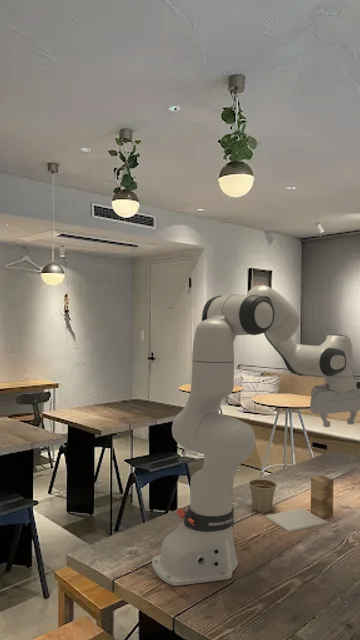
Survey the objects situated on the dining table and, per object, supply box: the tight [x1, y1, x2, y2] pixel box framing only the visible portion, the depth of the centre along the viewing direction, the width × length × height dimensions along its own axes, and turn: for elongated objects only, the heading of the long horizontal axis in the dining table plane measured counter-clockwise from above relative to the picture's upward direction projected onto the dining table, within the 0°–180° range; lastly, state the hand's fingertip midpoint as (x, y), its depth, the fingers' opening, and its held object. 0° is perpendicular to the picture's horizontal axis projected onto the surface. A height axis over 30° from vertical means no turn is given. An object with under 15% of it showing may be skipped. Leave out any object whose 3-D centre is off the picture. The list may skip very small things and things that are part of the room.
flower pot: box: [248, 478, 278, 513], centre depth 163 cm, size 9×9×9 cm
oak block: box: [310, 475, 335, 520], centre depth 158 cm, size 5×5×12 cm
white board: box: [265, 507, 329, 533], centre depth 154 cm, size 15×12×1 cm
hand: (338, 425), depth 159 cm, fingers open, 8 cm apart
